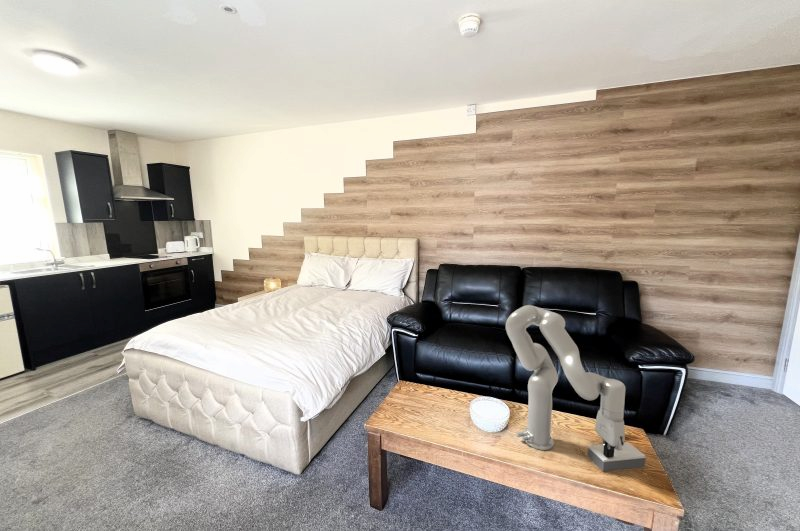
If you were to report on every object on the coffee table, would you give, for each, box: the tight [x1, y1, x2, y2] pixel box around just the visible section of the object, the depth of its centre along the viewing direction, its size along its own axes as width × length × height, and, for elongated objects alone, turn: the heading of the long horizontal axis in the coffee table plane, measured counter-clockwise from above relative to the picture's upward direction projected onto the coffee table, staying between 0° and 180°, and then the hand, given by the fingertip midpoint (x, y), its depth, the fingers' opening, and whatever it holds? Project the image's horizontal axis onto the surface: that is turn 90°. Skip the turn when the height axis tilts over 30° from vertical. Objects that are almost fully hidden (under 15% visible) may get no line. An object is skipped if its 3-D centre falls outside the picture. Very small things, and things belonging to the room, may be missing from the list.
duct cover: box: [588, 441, 647, 462], centre depth 129 cm, size 18×8×1 cm, turn 97°
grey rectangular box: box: [587, 447, 647, 473], centre depth 129 cm, size 18×8×4 cm, turn 97°
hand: (608, 456), depth 125 cm, fingers closed
